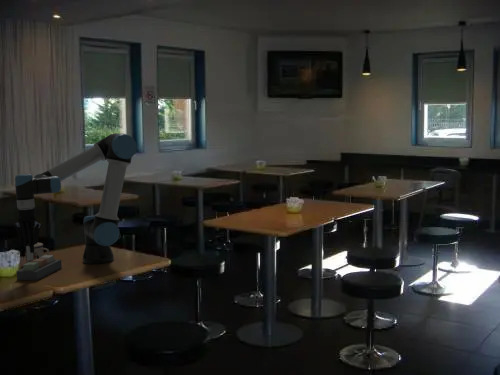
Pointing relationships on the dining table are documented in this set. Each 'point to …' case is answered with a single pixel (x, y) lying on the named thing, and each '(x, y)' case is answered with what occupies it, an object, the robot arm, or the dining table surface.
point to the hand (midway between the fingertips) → (30, 259)
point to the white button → (48, 258)
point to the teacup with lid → (37, 252)
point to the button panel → (39, 271)
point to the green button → (31, 266)
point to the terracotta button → (41, 262)
